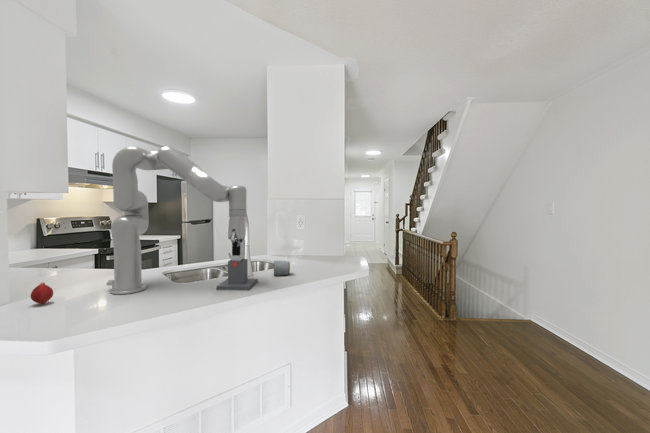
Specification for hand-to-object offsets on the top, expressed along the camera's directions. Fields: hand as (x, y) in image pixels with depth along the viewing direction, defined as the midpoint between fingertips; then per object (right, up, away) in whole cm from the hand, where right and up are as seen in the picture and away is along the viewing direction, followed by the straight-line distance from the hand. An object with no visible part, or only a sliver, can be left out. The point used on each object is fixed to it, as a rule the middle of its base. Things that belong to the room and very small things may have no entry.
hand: (237, 254), depth 133 cm
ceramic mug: (+16, -14, +23) cm, 31 cm away
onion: (-63, -15, -26) cm, 70 cm away
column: (0, -12, +1) cm, 12 cm away
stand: (0, -14, +1) cm, 14 cm away
